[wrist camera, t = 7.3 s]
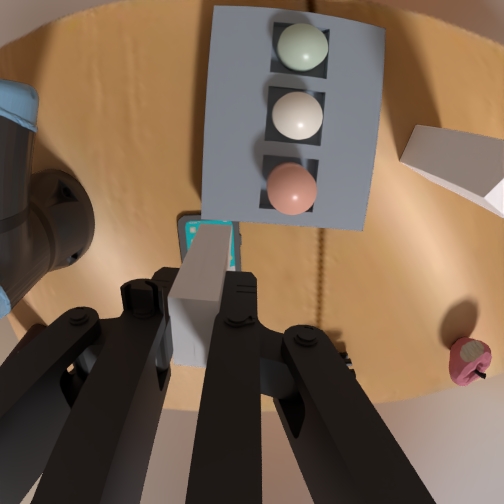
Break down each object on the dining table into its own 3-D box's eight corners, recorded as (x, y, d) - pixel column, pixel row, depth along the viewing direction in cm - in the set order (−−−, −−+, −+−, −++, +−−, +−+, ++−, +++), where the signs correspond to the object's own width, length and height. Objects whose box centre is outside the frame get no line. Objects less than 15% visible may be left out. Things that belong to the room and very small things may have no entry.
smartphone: (187, 311, 48) (175, 216, 42) (188, 308, 49) (176, 214, 43) (244, 311, 48) (240, 214, 42) (244, 307, 49) (240, 211, 42)
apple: (477, 320, 50) (502, 351, 41) (474, 349, 53) (496, 380, 44) (438, 339, 52) (460, 374, 42) (437, 368, 55) (456, 401, 46)
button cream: (269, 135, 36) (271, 137, 32) (272, 92, 34) (275, 89, 30) (313, 139, 36) (320, 142, 32) (317, 97, 34) (324, 95, 30)
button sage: (274, 69, 33) (277, 64, 29) (277, 29, 30) (280, 20, 27) (319, 75, 33) (326, 70, 29) (321, 35, 31) (329, 27, 27)
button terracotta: (264, 203, 38) (265, 213, 34) (268, 159, 36) (269, 164, 32) (307, 206, 38) (313, 216, 34) (313, 163, 36) (319, 169, 32)
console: (205, 209, 42) (201, 219, 38) (217, 15, 31) (214, 5, 28) (353, 221, 42) (362, 231, 39) (374, 35, 32) (385, 28, 28)
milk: (415, 124, 37) (530, 143, 17) (446, 145, 38) (560, 180, 17) (398, 162, 39) (505, 208, 19) (429, 182, 40) (536, 238, 20)
